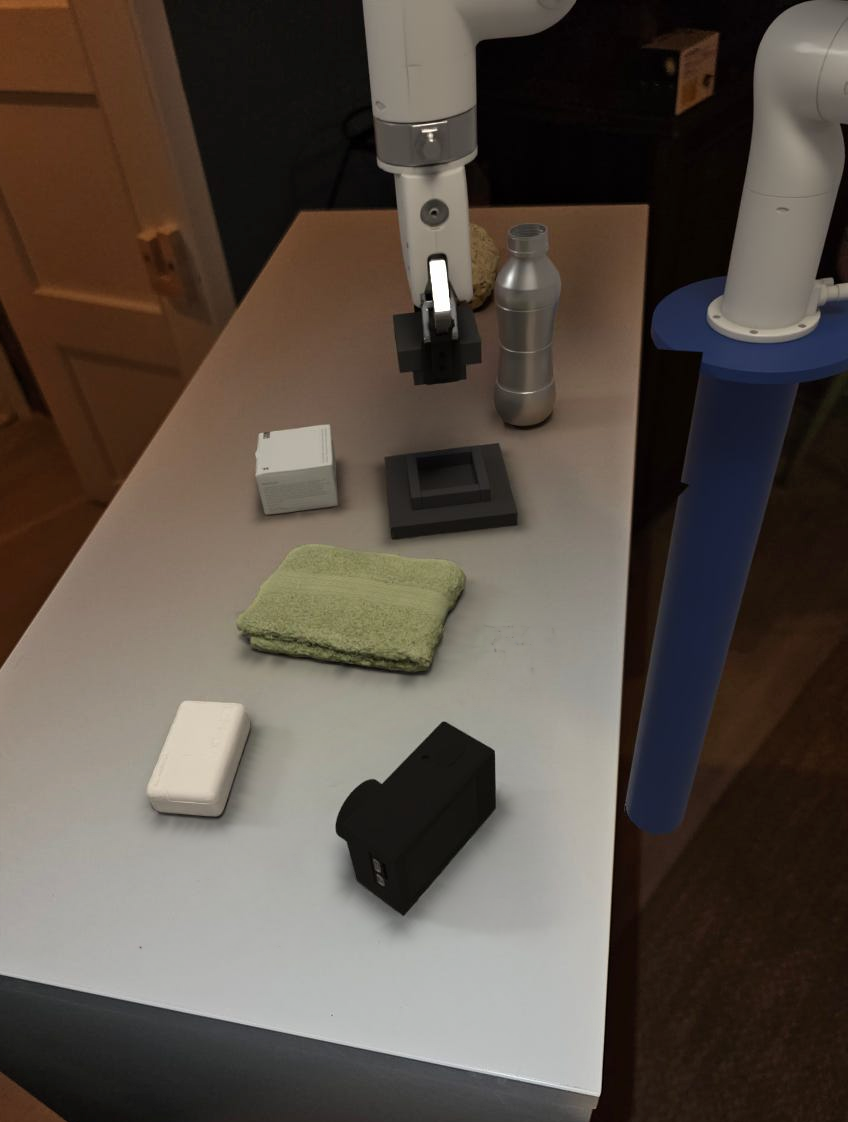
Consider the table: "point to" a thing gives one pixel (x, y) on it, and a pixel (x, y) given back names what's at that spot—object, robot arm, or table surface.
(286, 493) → the small box
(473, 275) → the sponge
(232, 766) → the soap
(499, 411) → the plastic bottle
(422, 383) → the top pad
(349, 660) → the washcloth
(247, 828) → the table surface
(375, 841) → the digital camera
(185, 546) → the table surface
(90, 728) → the table surface
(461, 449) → the base pad
